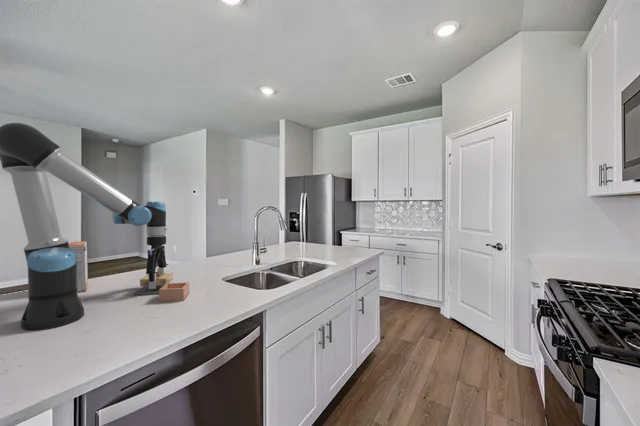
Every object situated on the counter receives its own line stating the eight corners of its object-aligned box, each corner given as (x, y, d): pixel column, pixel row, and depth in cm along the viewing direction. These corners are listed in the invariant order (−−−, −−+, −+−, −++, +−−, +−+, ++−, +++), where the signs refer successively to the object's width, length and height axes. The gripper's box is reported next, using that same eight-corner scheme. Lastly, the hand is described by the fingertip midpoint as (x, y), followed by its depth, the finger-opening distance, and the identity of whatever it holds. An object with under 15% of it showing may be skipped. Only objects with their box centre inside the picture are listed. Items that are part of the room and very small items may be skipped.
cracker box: (71, 286, 131) (70, 241, 130) (88, 284, 134) (87, 240, 134) (67, 294, 119) (66, 245, 119) (86, 291, 123) (85, 244, 122)
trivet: (132, 295, 118) (132, 293, 118) (146, 286, 132) (146, 284, 132) (169, 293, 121) (169, 292, 121) (178, 284, 135) (178, 283, 134)
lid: (140, 286, 120) (140, 275, 120) (149, 280, 130) (149, 270, 130) (165, 285, 122) (165, 274, 122) (172, 279, 132) (172, 269, 132)
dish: (159, 302, 110) (158, 289, 110) (166, 294, 119) (166, 283, 119) (183, 300, 112) (183, 288, 112) (189, 293, 121) (189, 282, 121)
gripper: (156, 238, 115) (156, 292, 116) (173, 233, 137) (173, 278, 138) (136, 239, 114) (136, 293, 114) (156, 233, 136) (156, 278, 136)
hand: (156, 285), depth 126 cm, fingers closed on lid, 10 cm apart
